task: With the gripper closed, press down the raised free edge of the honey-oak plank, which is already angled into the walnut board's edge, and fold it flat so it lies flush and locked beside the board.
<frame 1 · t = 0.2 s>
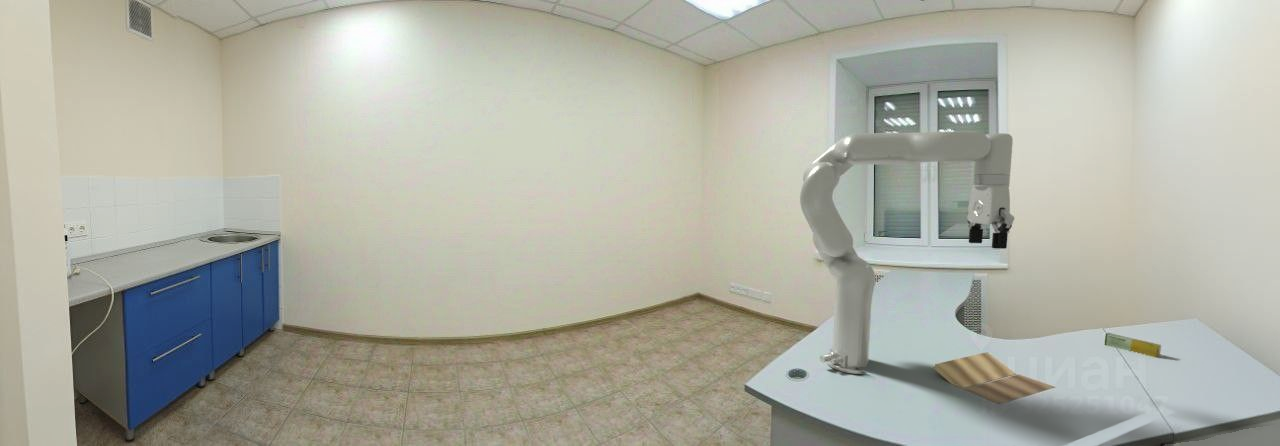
hand: (986, 245, 119), 36 cm above the table, tool pointing down, fingers open, 9 cm apart
oak plank: (974, 370, 120), point 3 cm above the table, hinge at 25.0°
walnut board: (1009, 393, 113), on the table
medication box: (1131, 351, 142), on the table
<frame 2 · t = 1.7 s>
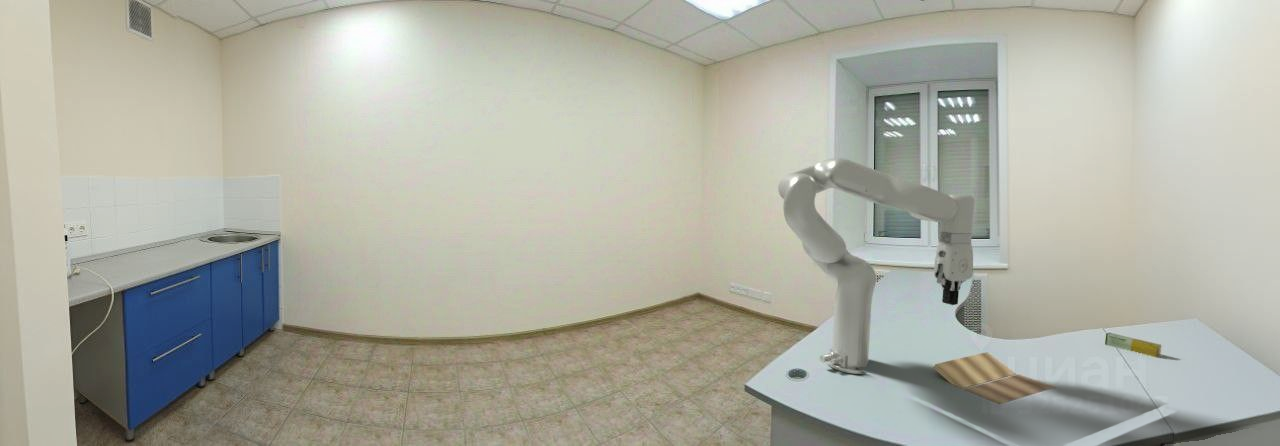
hand: (949, 303, 126), 19 cm above the table, tool pointing down, fingers closed
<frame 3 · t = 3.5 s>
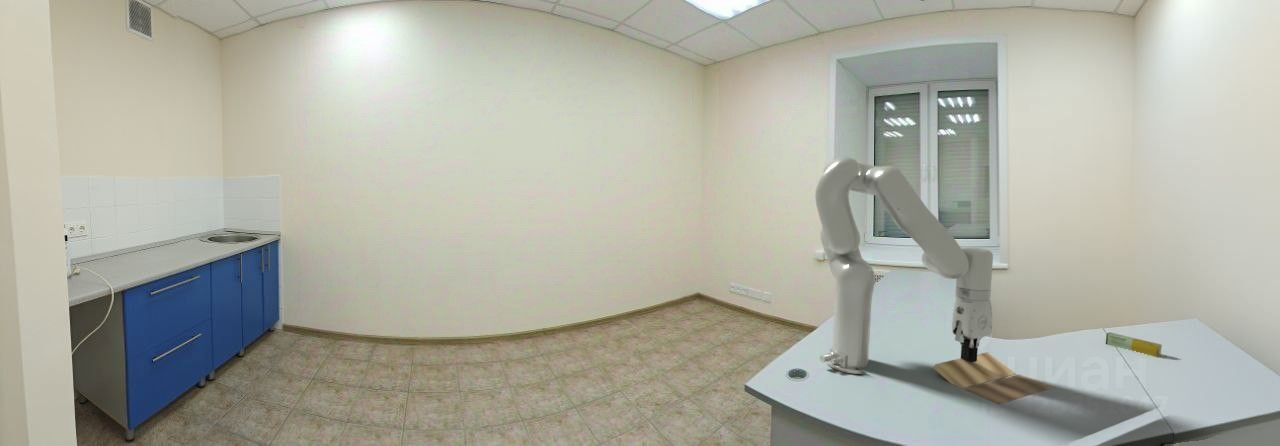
hand: (968, 360, 122), 5 cm above the table, tool pointing down, fingers closed
oak plank: (974, 370, 120), point 3 cm above the table, hinge at 24.9°, touching gripper
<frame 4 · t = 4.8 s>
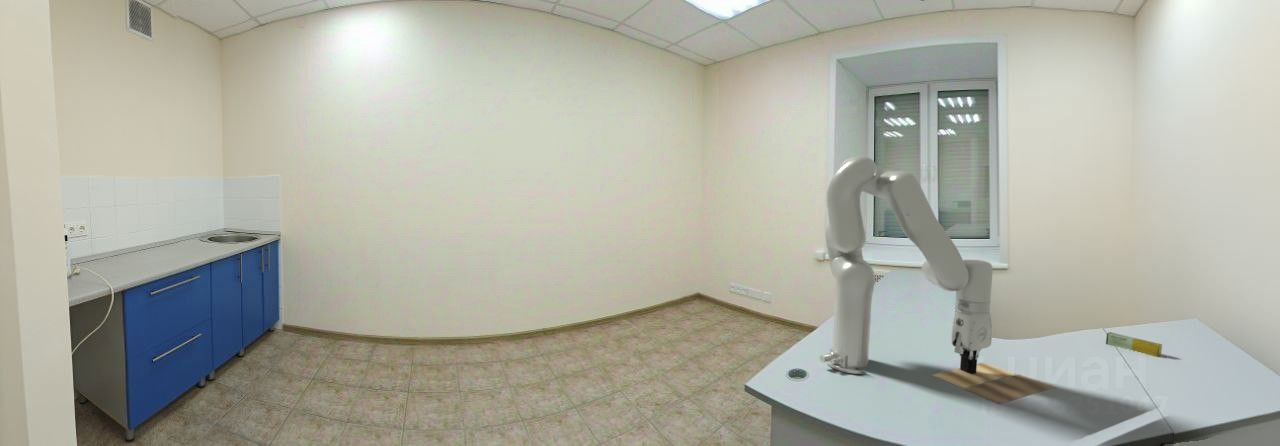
hand: (968, 371, 122), 2 cm above the table, tool pointing down, fingers closed
oak plank: (973, 376, 120), point 1 cm above the table, hinge at 0.5°, touching gripper
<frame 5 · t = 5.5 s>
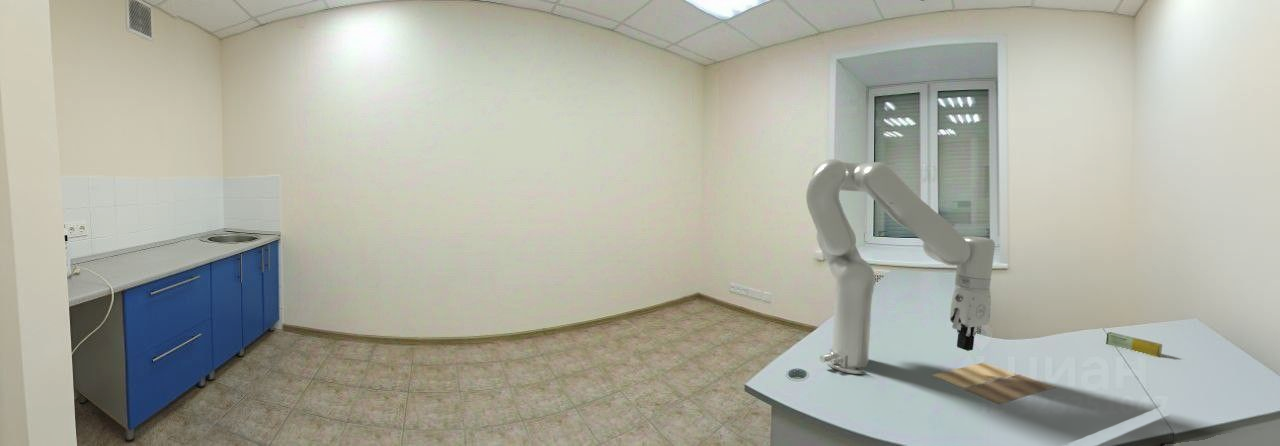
hand: (964, 348, 122), 8 cm above the table, tool pointing down, fingers closed
oak plank: (973, 376, 120), point 1 cm above the table, hinge at 0.4°
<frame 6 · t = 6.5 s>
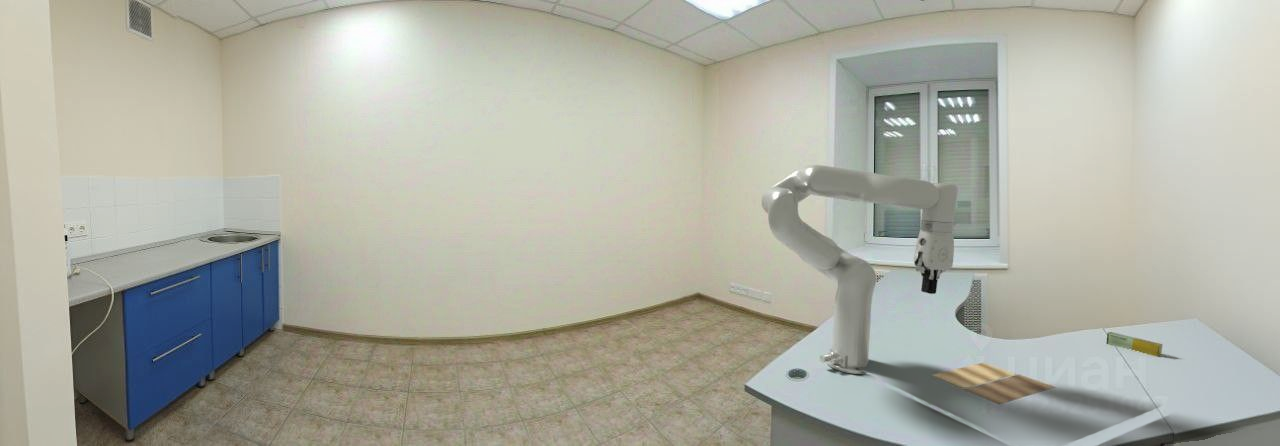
hand: (928, 292, 126), 22 cm above the table, tool pointing down, fingers closed
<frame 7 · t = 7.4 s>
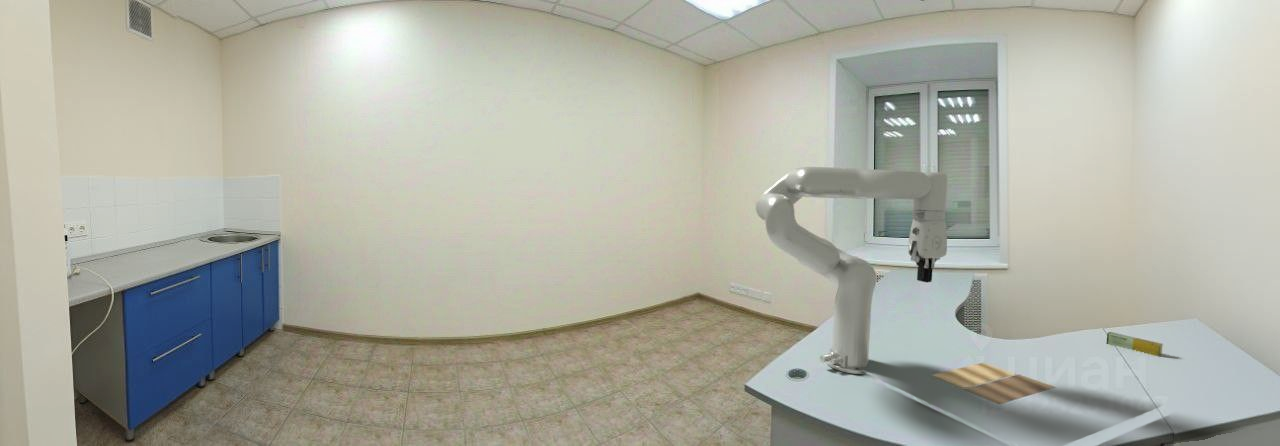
hand: (924, 281, 127), 25 cm above the table, tool pointing down, fingers closed
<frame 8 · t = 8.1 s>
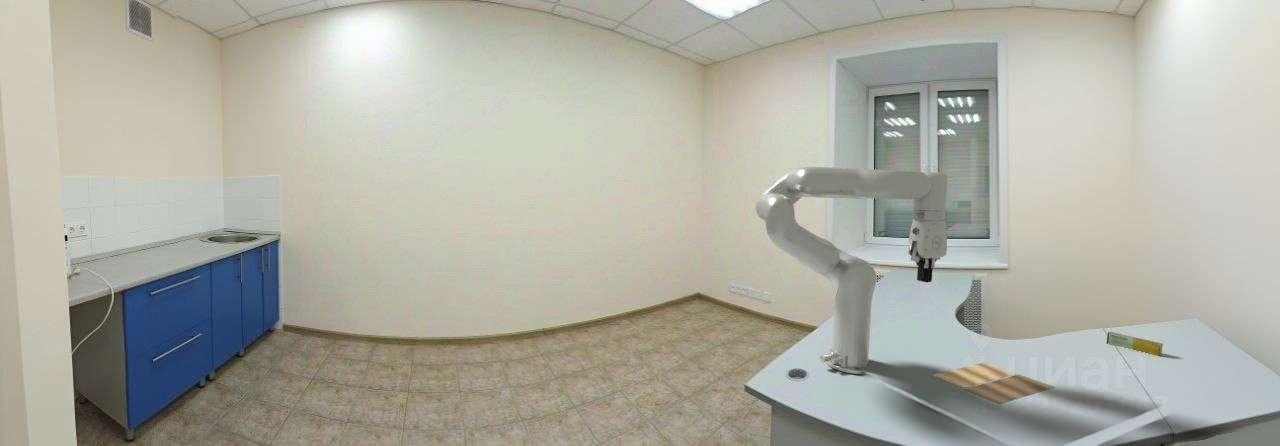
hand: (924, 281, 127), 25 cm above the table, tool pointing down, fingers closed
at the end: oak plank at +0° (first picture: +25°); the gripper is holding nothing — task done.
